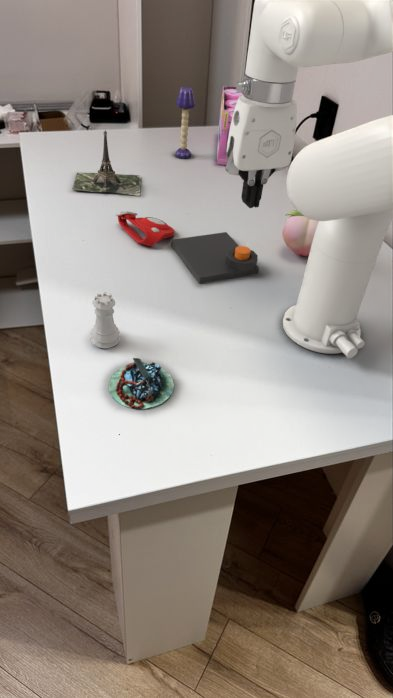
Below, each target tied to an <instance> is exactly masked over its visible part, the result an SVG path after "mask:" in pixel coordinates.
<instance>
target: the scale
mask: <svg viewBox="0 0 393 698" xmlns="http://www.w3.org/2000/svg"><path fill="white" fill-rule="evenodd" d="M238 246H240V245H239V244H238V243H237V242H236V240H234V239H233V238H232V237H231V236H230V234H228V232H227V231H224V232H217V233H209V234H202V235H195V236H194V235H193V236H188V237H181V238H173V239H171V240H170V247H171V248H172V249H173V251H174V252H175V253H176V255H177V256H178V257H179V259H180V260H181V261H182V263H183V264H184V266H185V267H186V268H187V270H188V271H189V272H190V274H191V275H192V277H193V279H195V281H196V282H197V283H198V284H199V285H200V284H207V283H212V282H219V281H224V280H225V281H226V280H230V279H235V278H241V277H248V276H253V275H258V274H259V269H260V267H259V266H258V257H259V256H258V254H257V253H256V252H255V251H254V250H253V249H250V250H251V252H250V258H249V259H248V260H239V259H237V258H235V249H236V247H238Z"/></svg>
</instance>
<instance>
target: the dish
mask: <svg viewBox="0 0 393 698" xmlns="http://www.w3.org/2000/svg"><path fill="white" fill-rule="evenodd" d="M132 360H133V362H130V363H128V364H126V365H124V366H122V367H121V368H119V369H118V370H116V371H115V372H114V373H113V374H112V375H111V377H110V379H109V382H108V391H109V393H110V395H111V397H112V398H113V399H114V400H115V401H116V402H117V403H118V404H120V405H122V406H124V407H127V408H129V409H134V408H135V410H137V408H140V410H144V409H149V408H154V407H157V406H159V405H162V404H163V403H165V402H166V401H167V400H168V399H169V398H170V397H171V395H172V394H173V391H174V387H175V386H174V385H175V384H174V380H173V377H172V376H171V374H170V373H168V372H167V371H166V370H164V369H162V366H161V365H160V364H158V363H155V362H154V361H152V362H150V363H147V362H144V361H142V359H141V358H139V357H132Z"/></svg>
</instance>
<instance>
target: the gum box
mask: <svg viewBox="0 0 393 698" xmlns="http://www.w3.org/2000/svg"><path fill="white" fill-rule="evenodd" d="M240 96H242V93H241V92H237V90H236V86H231V85H223V86H222V92H221V99H220V100H221V102H220V111H219V119H218V120H219V122H218V133H217V153H216V165H222V166H226V165H227V162H228V159H227V157H226V151H227V142H228V136H229V130H230V125H231V121H232V117H233V113H234V110H235V107H236V103H237V101H238V98H239V97H240Z"/></svg>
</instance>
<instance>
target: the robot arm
mask: <svg viewBox="0 0 393 698" xmlns="http://www.w3.org/2000/svg"><path fill="white" fill-rule="evenodd" d="M250 26H251V27H250V34H249V39H248V40H249V41H248V49H247V56H246V64H245V71H244V72H245V73H244V75H243V80H242V81H238V82H236V84H235V87H236V90H237V92H241V93H242V96H240V97H239V98H238V101H237V103H236V107H235V110H234V113H233V117H232V121H231V125H230V130H229V136H228V142H227V151H226V157H227V159H228V162H227V165H225V168H224V170H225V171H226V173H228V174H229V175H233V176H239V177H240V179H241V180H242V189H241V190H242V191H241V197H240V198H241V200H242V203H243V204H245V205H246V207H248V208H249V209H253V208H259V207H260V203H261V202H260V201H261V199H262V196H263V189H264V186H265V185H267V183H268V181H269V178H270V177H271V176H272V175H273V174H275V172H279V171H281V170H284V169H285V168H286V167H287V166H288V165H289V167H288V170H287V174H286V179H285V180H286V184H285V185H286V193H287V197H288V200H289V201H290V203H291V204H292V206H293V208H295V209H294V210H297V211H298V212H300V213H301V214H302V215H304V216H305V217H307V218H309V219H312V220H316V221H319V222H318V224H317V227H316V231H315V234H314V238H313V241H312V245H311V249H310V253H309V255H308V258H307V262H306V266H305V269H304V273H303V276H302V277H303V278H302V282H301V286H300V289H299V294H298V297H297V301H296V304H294V305H291V306H290V307H289V308H287V310H286V311H285V313H284V315H283V319H282V327H283V330H284V332H285V334H286V335H287V336H288V337H289V339H291V340H292V341H293V342H295V343H296V344H297V345H299V346H300V347H303V348H304V349H306V350H309V351H312V352H316V353H320V354H328V355H329V354H330V355H334V354H342V353H343V354H344V356H345V357H346V358H348V359H352V358H354V357H355V356H356V355H357V354H358V352H359V349H361V348H362V349H363V347H364V346H365V344H366V342H365V340H363V339H362V338H361V335H362V334H361V333H362V329H361V326H360V324H361V322H360V321H359V320H358V319H357V316H358V313H359V311H360V308H361V305H362V302H363V299H364V296H365V293H366V291H367V288H368V285H369V282H370V280H371V276H372V273H373V271H374V268H375V265H376V263H377V259H378V257H379V254H380V251H381V249H382V245H383V243H384V240H385V237H386V235H387V232H388V230H389V227H390V226H391V223H392V221H393V114H391V115H387V116H384V117H380V118H377V119H374V120H371V121H368V122H366V123H365V122H364V123H363V124H360V125H357V126H355V127H352V128H349V129H346V130H344V131H341V132H338V133H335V134H333V135H330V136H327V137H324V138H321V139H318V140H317V141H313V142H312V143H309V144H307V145H306V146H305V147H303V148H302V149H301V150H300V151H299V152H298V153H296V155H295V156H294V158H293V160H292V157H293V152H294V147H295V141H296V131H297V118H298V117H297V115H298V114H297V112H298V111H297V101H296V99H295V100H294V99H293V97H294V92H295V87H296V80H297V76H298V71H299V68H312V67H313V68H314V67H321V66H322V67H323V66H328V65H340V64H341V65H342V64H351V63H355V62H360V61H364V60H367V59H371V58H374V57H379V56H383V55H386V54H390V53H393V0H254V3H253V10H252V17H251V25H250Z"/></svg>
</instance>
